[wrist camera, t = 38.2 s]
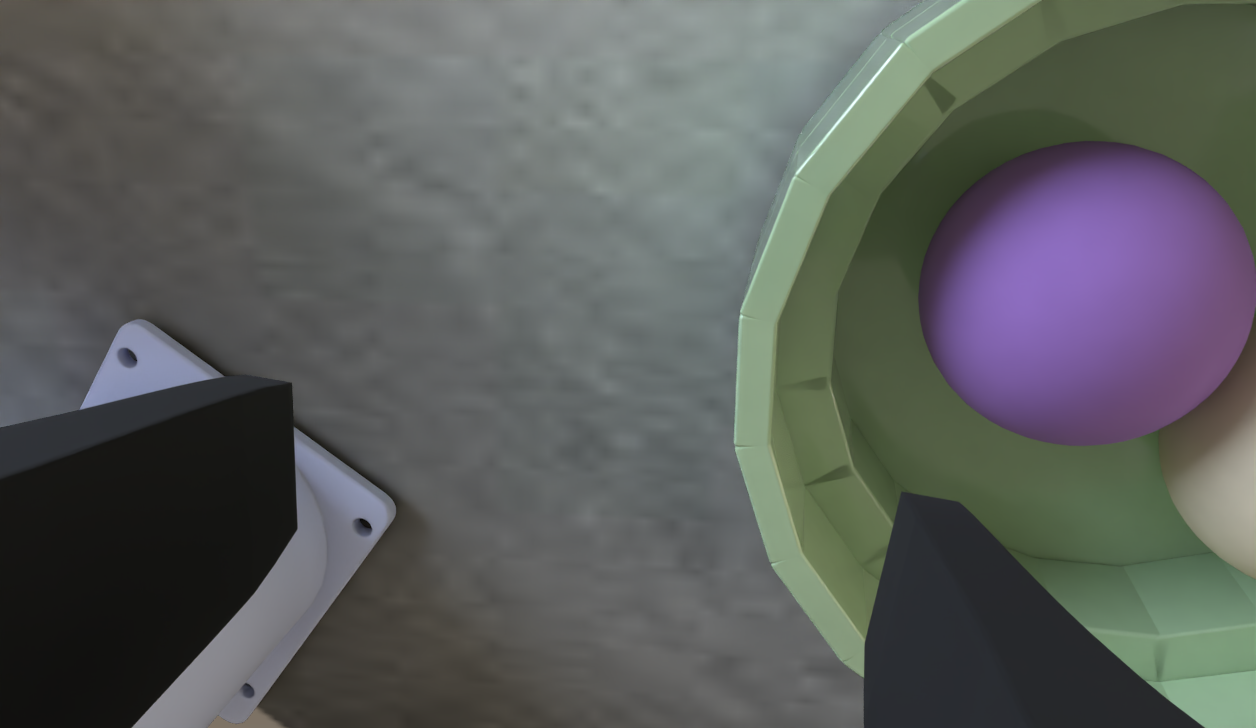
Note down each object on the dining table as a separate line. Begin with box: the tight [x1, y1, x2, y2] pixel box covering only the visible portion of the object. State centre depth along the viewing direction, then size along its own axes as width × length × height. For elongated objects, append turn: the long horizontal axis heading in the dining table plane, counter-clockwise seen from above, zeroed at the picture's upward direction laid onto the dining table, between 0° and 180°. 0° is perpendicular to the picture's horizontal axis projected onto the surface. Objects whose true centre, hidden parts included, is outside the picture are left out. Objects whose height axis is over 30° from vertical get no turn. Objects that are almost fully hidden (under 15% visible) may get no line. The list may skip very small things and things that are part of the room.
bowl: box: [734, 0, 1256, 728], centre depth 16 cm, size 14×14×6 cm
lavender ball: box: [918, 141, 1256, 446], centre depth 15 cm, size 5×5×5 cm
